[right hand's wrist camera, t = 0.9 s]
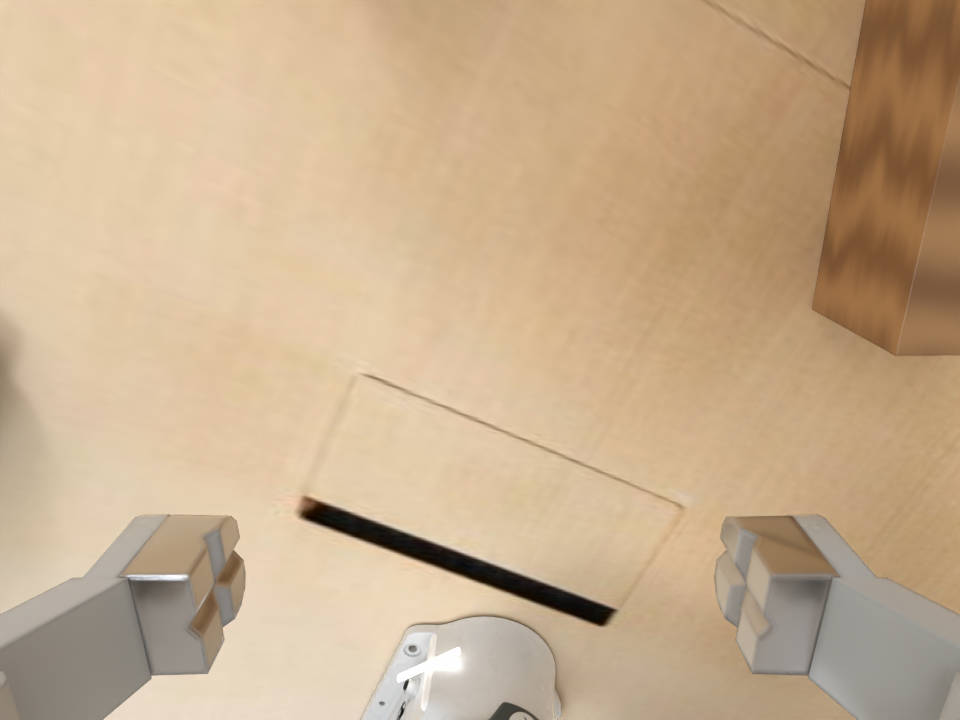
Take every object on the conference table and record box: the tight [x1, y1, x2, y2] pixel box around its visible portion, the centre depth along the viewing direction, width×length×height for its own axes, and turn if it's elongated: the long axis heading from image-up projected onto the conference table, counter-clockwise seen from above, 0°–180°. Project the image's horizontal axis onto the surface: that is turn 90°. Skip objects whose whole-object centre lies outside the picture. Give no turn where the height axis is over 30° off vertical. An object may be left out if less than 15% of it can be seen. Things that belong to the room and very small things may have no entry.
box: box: [812, 0, 960, 356], centre depth 42 cm, size 24×6×11 cm, turn 1°
